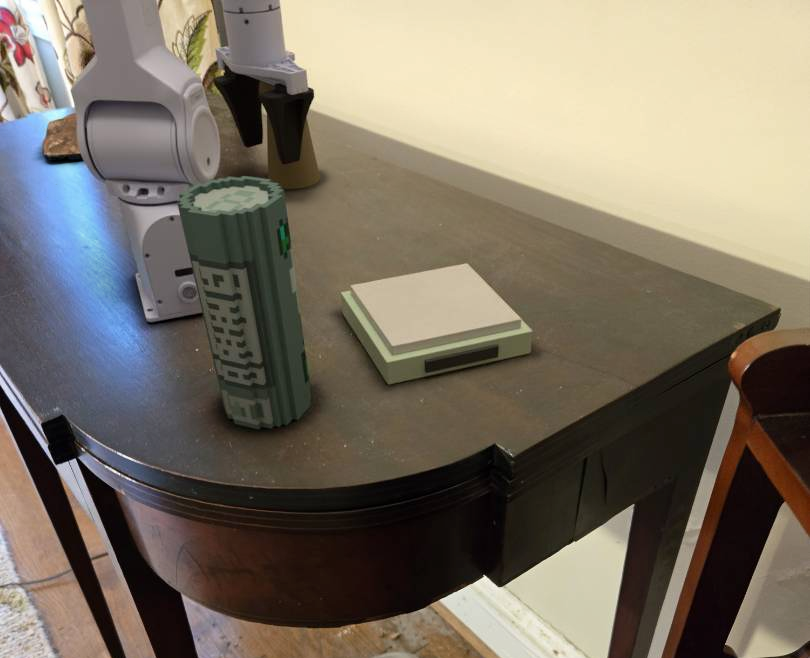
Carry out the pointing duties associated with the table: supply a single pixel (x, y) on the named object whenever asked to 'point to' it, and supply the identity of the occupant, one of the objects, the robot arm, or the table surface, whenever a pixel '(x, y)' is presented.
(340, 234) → the table surface
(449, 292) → the scale
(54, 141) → the brown stone slab
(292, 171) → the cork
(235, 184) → the can
